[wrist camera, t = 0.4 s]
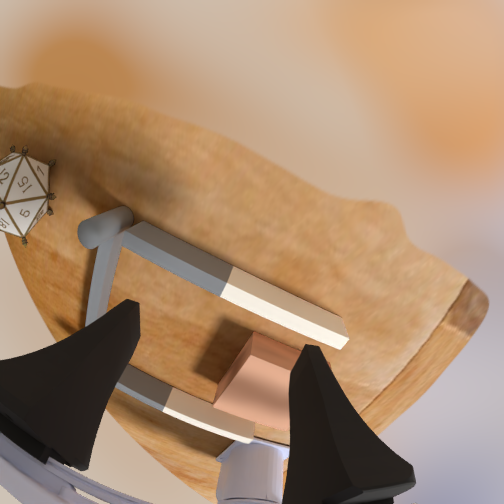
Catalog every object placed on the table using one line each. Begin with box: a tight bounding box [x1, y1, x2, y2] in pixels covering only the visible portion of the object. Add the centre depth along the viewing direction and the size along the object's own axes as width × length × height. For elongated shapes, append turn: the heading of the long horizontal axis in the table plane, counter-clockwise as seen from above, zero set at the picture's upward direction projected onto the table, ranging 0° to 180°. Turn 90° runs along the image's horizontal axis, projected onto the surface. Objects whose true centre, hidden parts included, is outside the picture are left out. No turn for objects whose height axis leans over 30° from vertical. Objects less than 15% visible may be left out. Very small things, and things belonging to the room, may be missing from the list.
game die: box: [0, 145, 56, 248], centre depth 17 cm, size 9×8×10 cm
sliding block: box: [212, 331, 332, 431], centre depth 23 cm, size 8×8×4 cm
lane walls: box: [162, 266, 349, 444], centre depth 23 cm, size 17×10×3 cm, turn 154°
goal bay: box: [78, 206, 233, 411], centre depth 21 cm, size 18×11×5 cm, turn 154°
